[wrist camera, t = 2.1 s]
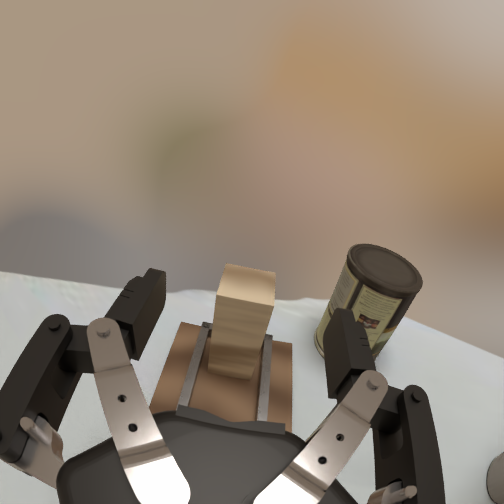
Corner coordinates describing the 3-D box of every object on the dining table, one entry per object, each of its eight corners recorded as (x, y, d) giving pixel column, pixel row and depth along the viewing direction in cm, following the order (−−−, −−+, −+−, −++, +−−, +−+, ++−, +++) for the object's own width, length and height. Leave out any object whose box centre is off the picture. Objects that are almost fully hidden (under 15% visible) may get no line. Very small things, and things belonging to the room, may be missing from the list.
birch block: (250, 380, 30) (274, 305, 24) (207, 372, 30) (216, 294, 24) (253, 348, 34) (275, 273, 28) (215, 341, 34) (226, 263, 28)
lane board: (282, 561, 12) (289, 563, 11) (112, 530, 12) (105, 529, 11) (290, 346, 36) (295, 336, 35) (181, 324, 36) (181, 313, 35)
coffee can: (364, 321, 43) (401, 248, 36) (384, 369, 34) (436, 294, 27) (307, 317, 42) (338, 237, 35) (320, 371, 33) (366, 287, 26)
